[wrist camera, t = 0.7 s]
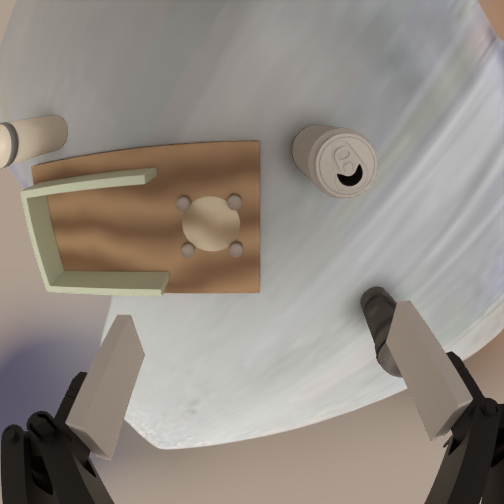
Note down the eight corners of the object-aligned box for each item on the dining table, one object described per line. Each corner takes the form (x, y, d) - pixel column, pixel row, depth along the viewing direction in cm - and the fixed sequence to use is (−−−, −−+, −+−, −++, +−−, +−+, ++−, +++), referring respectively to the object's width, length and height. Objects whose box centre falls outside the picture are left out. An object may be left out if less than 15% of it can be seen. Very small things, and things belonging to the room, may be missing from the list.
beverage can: (304, 183, 36) (328, 214, 25) (282, 136, 34) (298, 146, 23) (349, 163, 35) (390, 185, 24) (329, 116, 32) (366, 118, 22)
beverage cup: (395, 308, 45) (449, 399, 27) (355, 323, 46) (396, 423, 28) (392, 272, 42) (458, 364, 24) (349, 288, 43) (399, 391, 25)
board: (37, 164, 33) (25, 169, 31) (259, 140, 34) (260, 142, 31) (64, 284, 42) (56, 294, 39) (259, 286, 42) (260, 298, 40)
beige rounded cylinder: (40, 119, 31) (-18, 130, 20) (66, 111, 31) (9, 118, 20) (42, 153, 33) (-13, 173, 22) (69, 147, 33) (13, 165, 22)
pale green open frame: (39, 182, 33) (20, 191, 29) (156, 167, 33) (144, 174, 29) (61, 276, 40) (47, 291, 36) (169, 278, 40) (162, 296, 36)
